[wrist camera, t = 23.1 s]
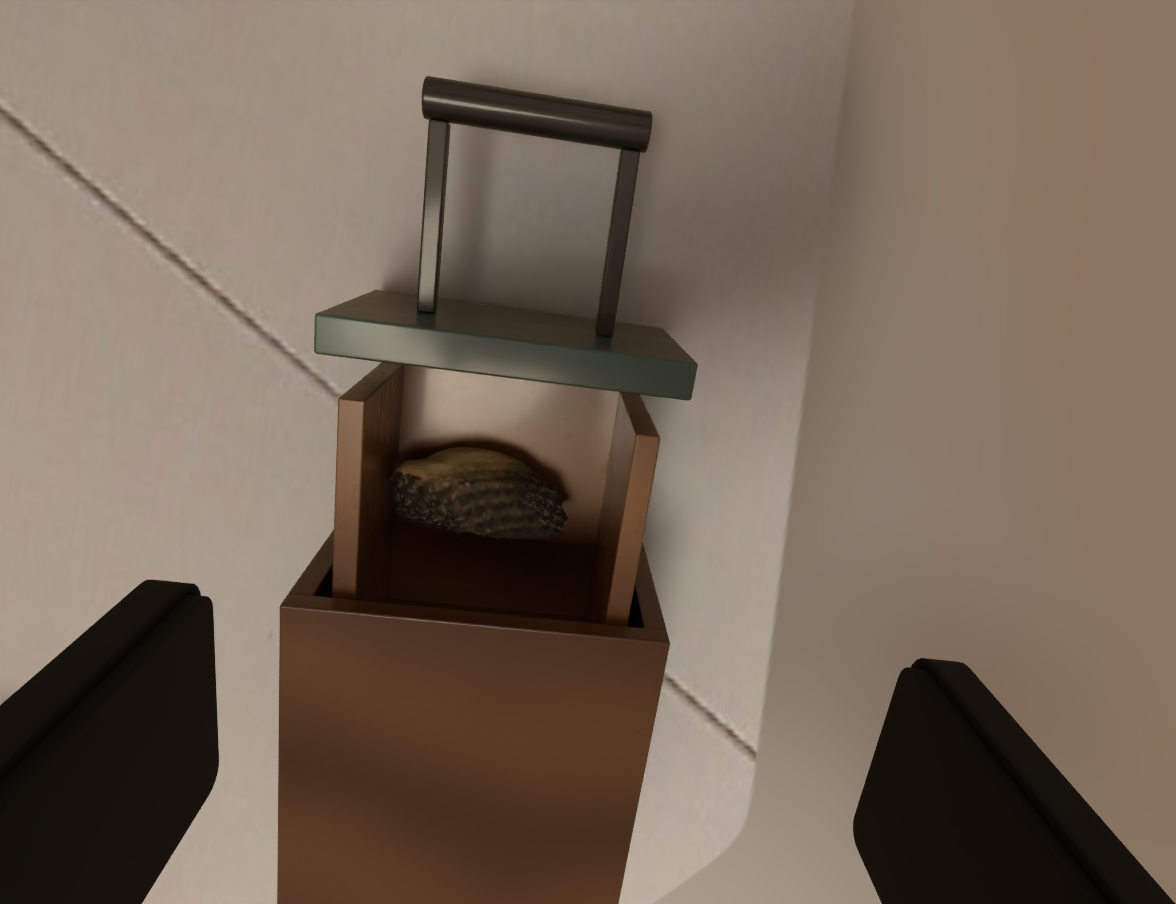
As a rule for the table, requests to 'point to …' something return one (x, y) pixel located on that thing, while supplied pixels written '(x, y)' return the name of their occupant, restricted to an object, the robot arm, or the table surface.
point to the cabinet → (459, 749)
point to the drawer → (502, 402)
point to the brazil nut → (477, 495)
